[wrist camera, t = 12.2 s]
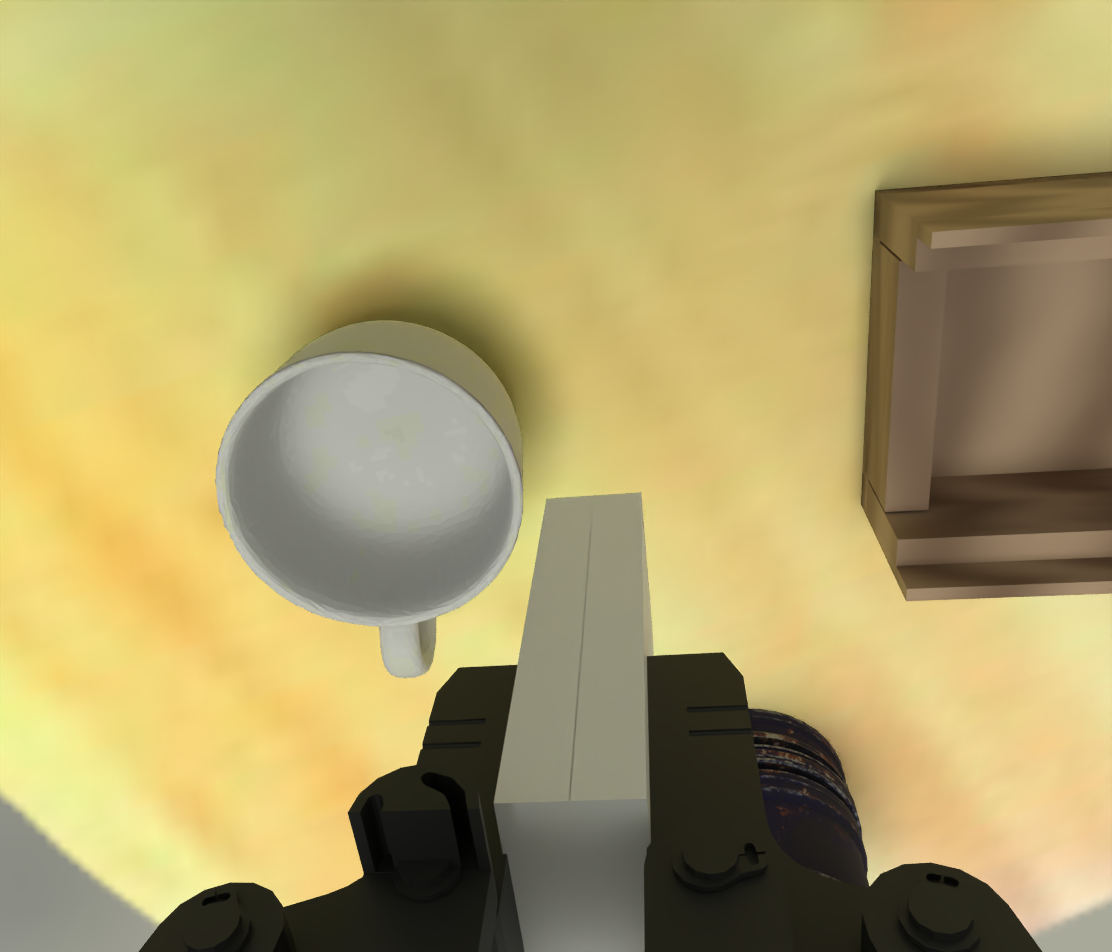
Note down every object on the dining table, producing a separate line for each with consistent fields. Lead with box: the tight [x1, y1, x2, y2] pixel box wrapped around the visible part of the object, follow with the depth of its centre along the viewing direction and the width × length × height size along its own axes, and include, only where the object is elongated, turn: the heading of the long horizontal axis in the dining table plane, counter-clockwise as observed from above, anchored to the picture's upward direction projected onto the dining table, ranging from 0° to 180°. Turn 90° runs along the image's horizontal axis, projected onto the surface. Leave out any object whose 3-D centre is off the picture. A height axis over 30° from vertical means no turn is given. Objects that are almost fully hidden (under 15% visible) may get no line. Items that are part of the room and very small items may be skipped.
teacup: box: [215, 320, 523, 678], centre depth 38 cm, size 14×11×8 cm
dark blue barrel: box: [748, 709, 869, 888], centre depth 42 cm, size 10×10×15 cm
